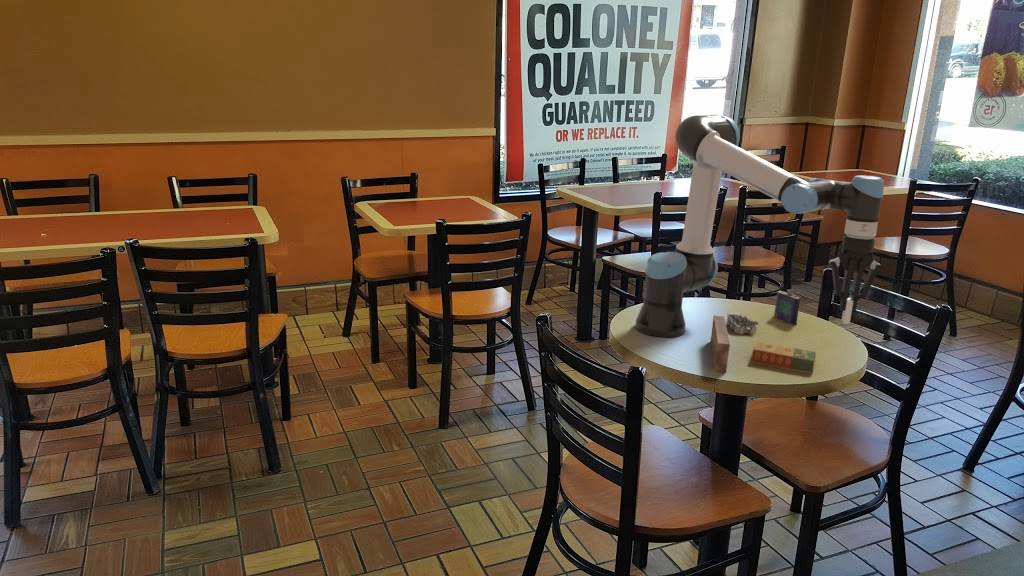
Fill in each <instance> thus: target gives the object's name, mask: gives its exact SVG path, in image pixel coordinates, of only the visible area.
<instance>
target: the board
mask: <svg viewBox="0 0 1024 576" xmlns="http://www.w3.org/2000/svg"><path fill="white" fill-rule="evenodd" d="M725 318H726V317H725V316H724V315H723V316H721V315H713V318H712V319H713V320H712V326H711V327H712V328H711V334H710V335H711V336H710V347H711V355H712V362H713V370H714V371H713V372H719V373H727V368H728V361H729V352H730V348H731V347H730V345H731V343H730V338H729V333H728V328H727V322H726V319H725Z"/></svg>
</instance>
